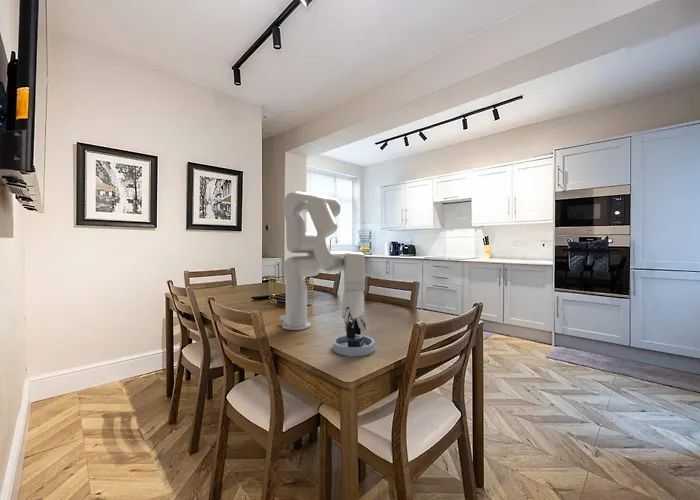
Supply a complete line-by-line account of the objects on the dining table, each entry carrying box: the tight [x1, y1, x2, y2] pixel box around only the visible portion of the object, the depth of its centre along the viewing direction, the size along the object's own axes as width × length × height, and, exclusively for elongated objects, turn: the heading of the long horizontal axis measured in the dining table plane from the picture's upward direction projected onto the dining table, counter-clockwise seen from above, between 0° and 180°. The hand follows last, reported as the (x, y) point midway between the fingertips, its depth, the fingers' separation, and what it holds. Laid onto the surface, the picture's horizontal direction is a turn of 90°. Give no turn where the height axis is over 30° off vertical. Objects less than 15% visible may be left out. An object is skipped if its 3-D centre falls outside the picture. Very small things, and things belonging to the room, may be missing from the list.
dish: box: [332, 334, 376, 357], centre depth 119 cm, size 15×15×3 cm
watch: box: [344, 317, 368, 347], centre depth 118 cm, size 6×8×11 cm
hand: (353, 335), depth 119 cm, fingers open, 4 cm apart
